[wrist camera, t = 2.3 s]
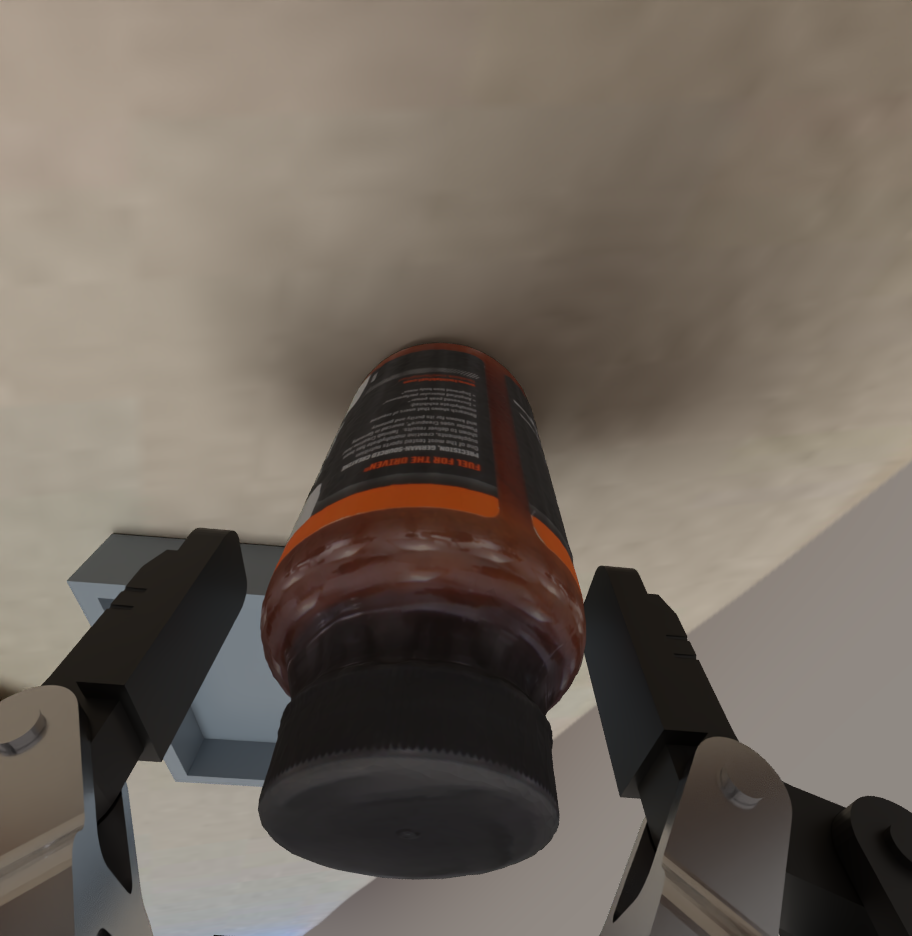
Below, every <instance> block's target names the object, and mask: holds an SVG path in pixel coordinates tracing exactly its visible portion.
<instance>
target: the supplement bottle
mask: <svg viewBox="0 0 912 936" xmlns="http://www.w3.org/2000/svg"><path fill="white" fill-rule="evenodd" d="M260 630H261V641H262V644H263V651H264V656H265V659H266V661H267V663H268V666H269V668H270V670H271V672H272V675H273V677H274V678H275V679H276V680H277V682H278V683H279V685H280V686H281V688H282V689H283V690H284V692H285V694H287V695H288V696H289V697H290V698H291V702H289V703H288V704H287V706H286V708H285V710H284V712H283V715H282V717H281V720H280V727H279V730H278V738H277V742H276V745H275V748H274V752H273V755H272V758H271V762H270V765H269V768H268V772H267V775H266V778H265V781H264V784H263V787H262V791H261V794H260V798H259V806H258V812H259V816H260V820H261V823H262V826H263V827H264V829H265V830H266V831H267V832H268V834H269V835H270V836H271V837H272V838H273V840H274V841H275V842H277V843H278V844H279V845H281V846H282V847H283V848H285V849H286V850H288V851H289V852H291V853H292V854H294V855H297V856H299V857H302V858H304V859H307V860H309V861H312V862H315V863H317V864H320V865H323V866H326V867H329V868H333V869H337V870H342V871H346V872H352V873H358V874H363V875H369V876H376V877H382V878H396V879H444V878H452V877H460V876H466V875H476V874H477V875H478V874H483V873H487V872H490V871H494V870H498V869H502V868H505V867H507V866H509V865H512V864H516V863H518V862H521V861H523V860H525V859H527V858H529V857H531V856H533V855H535V854H536V853H537V852H538V851H539V850H542V849H543V848H544V847H545V846H546V845H547V844H548V843H549V842H550V841H551V839H552V837H553V835H554V834H555V832H556V831H557V828H558V825H559V808H558V800H557V792H556V784H555V777H554V771H553V761H552V744H553V740H552V730H551V726H550V723H549V721H548V720H547V718H546V716H545V715H546V714H547V712H548V711H549V710H550V709H551V708H552V707H553V706H554V705H555V704H557V702H559V701H560V699H561V698H562V696H563V695H564V694H565V692H566V691H567V690H568V689H569V687H570V686H571V684H572V682H573V680H574V678H575V676H576V675H577V674H578V671H579V669H580V667H581V664H582V659H583V655H584V650H585V645H586V620H585V613H584V604H583V598H582V594H581V590H580V586H579V582H578V579H577V576H576V572H575V569H574V566H573V556H572V553H571V550H570V547H569V545H568V541H567V537H566V533H565V529H564V525H563V522H562V518H561V515H560V511H559V507H558V505H557V500H556V496H555V493H554V489H553V485H552V482H551V478H550V474H549V470H548V467H547V464H546V460H545V456H544V453H543V450H542V446H541V442H540V439H539V436H538V432H537V427H536V423H535V420H534V417H533V413H532V410H531V407H530V405H529V403H528V401H527V398H526V396H525V394H524V391H523V389H522V388H521V386H520V385H519V383H518V382H517V380H516V379H515V378H514V377H513V376H512V374H511V373H510V372H509V371H508V370H507V369H506V368H505V367H503V366H502V365H501V364H500V363H498V362H497V361H496V360H494V359H493V358H491V357H489V356H488V355H486V354H484V353H482V352H480V351H478V350H475V349H473V348H471V347H467V346H462V345H458V344H448V343H430V344H422V345H417V346H413V347H410V348H406V349H404V350H401V351H399V352H397V353H395V354H393V355H391V356H390V357H388V358H386V359H385V360H383V361H382V362H381V363H380V364H379V365H378V366H377V367H376V368H374V369H373V370H372V372H371V373H370V374H368V376H367V377H366V379H365V380H364V381H363V383H362V384H361V386H360V387H359V389H358V391H357V393H356V394H355V396H354V398H353V400H352V402H351V405H350V407H349V409H348V411H347V413H346V415H345V418H344V420H343V422H342V424H341V426H340V428H339V430H338V433H337V435H336V437H335V439H334V441H333V443H332V445H331V448H330V450H329V452H328V454H327V457H326V459H325V461H324V463H323V465H322V468H321V470H320V472H319V474H318V476H317V478H316V481H315V483H314V485H313V487H312V489H311V491H310V493H309V495H308V498H307V499H306V502H305V504H304V507H303V509H302V511H301V513H300V515H299V517H298V520H297V522H296V524H295V526H294V528H293V531H292V533H291V535H290V537H289V539H288V542H287V544H286V546H285V548H284V551H283V553H282V556H281V558H280V560H279V562H278V564H277V566H276V568H275V571H274V573H273V575H272V578H271V580H270V582H269V585H268V588H267V591H266V594H265V597H264V600H263V603H262V610H261V623H260Z"/></svg>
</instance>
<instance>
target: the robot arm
mask: <svg viewBox="0 0 912 936" xmlns="http://www.w3.org/2000/svg"><path fill="white" fill-rule="evenodd" d="M246 592H247V577H246V572H245V567H244V562H243V557H242V552H241V547H240V542H239V537H238V534H237V533H236V532H235V531H230V530H219V529H208V528H197V529H195V530H193V531H192V532H191V534H190V535H189V536H188V537H187V539H186V540H185V541H184V543H183V544H182V545H181V546H180V548H179V549H178V550H166V551H164V552H163V553H161V554H160V555H158V556H157V557H155V558H154V559H152V560H151V561H149V562H148V563H146V564H145V565H143V566H142V567H141V568H140V569H139V571H138V572H137V573H136V574H135V575H134V577H133V578H132V579H131V580H130V581H129V583H128V584H127V585H126V586H125V590H124V591H121V592H120V593H119V595H118V596H117V597H116V598H115V599H114V600H113V602H112V603H111V604H110V605H111V606H110V608H109V609H106V610H105V611H104V612H103V614H102V615H101V616H100V617H99V618H98V620H97V621H96V622H95V623H94V624H93V626H92V627H91V628H90V629H89V630H88V631H87V633H86V634H85V635H84V636H83V637H82V639H81V640H80V641H79V642H78V643H77V645H76V646H75V647H74V648H73V649H72V651H71V652H70V653H69V654H68V655H67V657H66V658H65V659H64V660H63V661H62V662H61V664H60V665H59V666H58V667H57V668H56V670H55V671H54V672H53V673H52V674H51V676H50V677H49V678H48V679H47V680H46V681H45V682H44V683H43V684H42V685H41V686H38V687H34V688H30V689H27V690H24V691H21V692H18V693H16V694H14V695H11V696H9V697H7V698H6V699H4V700H2V701H0V936H153V932H152V929H151V925H150V922H149V919H148V916H147V913H146V910H145V907H144V903H143V899H142V894H141V887H140V880H139V872H138V864H137V856H136V849H135V841H134V833H133V825H132V817H131V810H130V802H129V794H128V787H127V783H126V780H127V779H128V777H129V775H130V773H131V772H132V770H133V768H134V766H135V765H136V763H137V761H138V760H139V761H153V762H162V760H163V758H164V756H165V754H166V752H167V750H168V748H169V747H170V745H171V743H172V741H173V739H174V737H175V735H176V733H177V731H178V729H179V727H180V726H181V724H182V722H183V720H184V718H185V716H186V714H187V712H188V710H189V708H190V706H191V705H192V703H193V701H194V699H195V697H196V695H197V693H198V691H199V689H200V687H201V685H202V683H203V682H204V680H205V678H206V676H207V674H208V672H209V670H210V668H211V666H212V664H213V662H214V661H215V659H216V657H217V655H218V653H219V651H220V649H221V647H222V645H223V643H224V641H225V640H226V638H227V636H228V634H229V632H230V630H231V628H232V626H233V624H234V622H235V620H236V619H237V617H238V615H239V613H240V611H241V609H242V607H243V604H244V601H245V597H246ZM584 613H585V620H586V645H585V650H584V654H585V658H586V662H587V666H588V670H589V674H590V678H591V682H592V686H593V690H594V694H595V698H596V702H597V706H598V710H599V714H600V718H601V722H602V726H603V731H604V735H605V739H606V742H607V747H608V751H609V755H610V759H611V763H612V766H613V770H614V775H615V779H616V782H617V787H618V791H619V795H620V797H627V798H640V799H641V801H642V805H643V808H644V812H645V815H646V817H645V818H644V820H643V822H642V824H641V827H640V829H639V832H638V835H637V838H636V840H635V843H634V846H633V849H632V851H631V854H630V857H629V859H628V862H627V865H626V868H625V870H624V873H623V875H622V878H621V881H620V884H619V887H618V889H617V892H616V895H615V897H614V900H613V903H612V906H611V908H610V911H609V914H608V916H607V919H606V921H605V924H604V926H603V929H602V931H601V933H600V935H599V936H778V934H779V935H780V936H912V813H911V812H909V811H908V810H906V809H904V808H903V807H901V806H899V805H897V804H895V803H893V802H891V801H889V800H886V799H883V798H880V797H875V796H865V797H860V798H859V799H857V800H856V801H854V802H853V803H852V804H850V805H849V806H848V807H847V808H845V807H843V806H840V805H838V804H835V803H833V802H830V801H828V800H825V799H823V798H820V797H818V796H815V795H813V794H810V793H808V792H805V791H803V790H801V789H798V788H796V787H793V786H791V785H789V784H787V783H784V782H783V781H782V780H781V779H780V777H779V776H778V774H777V773H776V772H775V770H774V769H773V768H772V767H771V766H770V764H769V763H767V761H766V760H765V759H763V758H762V757H761V756H760V755H759V754H758V753H756V752H755V751H754V750H752V749H751V748H749V747H748V746H746V745H744V744H742V743H740V742H739V741H738V739H737V737H736V736H735V734H734V732H733V730H732V728H731V726H730V724H729V722H728V720H727V718H726V716H725V714H724V711H723V709H722V707H721V705H720V703H719V701H718V699H717V697H716V695H715V693H714V691H713V689H712V687H711V685H710V683H709V681H708V678H707V677H706V674H705V672H704V670H703V668H702V666H701V664H700V662H699V660H696V654H695V651H694V649H693V647H692V645H691V643H690V642H689V641H687V635H686V633H685V631H684V629H683V627H682V625H681V623H680V620H679V618H678V616H677V614H676V613H675V612H674V611H673V610H672V609H671V608H670V607H669V606H668V605H667V604H666V603H665V601H664V600H663V599H662V598H661V597H660V596H659V595H656V594H647V591H646V589H645V587H644V585H643V582H642V580H641V578H640V575H639V574H638V572H637V571H636V570H635V569H633V568H622V567H611V566H599V567H598V568H597V570H596V572H595V575H594V577H593V580H592V583H591V586H590V588H589V591H588V594H587V596H586V599H585V602H584ZM214 936H222V935H214Z"/></svg>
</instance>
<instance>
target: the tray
mask: <svg viewBox="0 0 912 936" xmlns="http://www.w3.org/2000/svg"><path fill="white" fill-rule="evenodd" d="M185 540H186V539H173V538H160V537H147V536H134V535H121V534H111V536H110V537H109V538H108V539H107V540H106V541H105V542H104V543H103V544H102V545H101V546H100V547H99V548H98V549H97V550H96V551H95V552H94V553H93V554H92V555H91V556H90V557H89V558H88V559H87V560H86V561H85V562H84V563H83V565H82V566H81V567H80V568H79V569H78V570H77V571H76V572H75V573H74V574H73V575H72V576H71V577H70V578H69V579H68V580H67V583H68V584H69V586H70V588H71V590H72V592H73V594H74V596H75V597H76V599H77V601H78V603H79V605H80V607H81V608H82V610H83V612H84V614H85V616H86V618H87V619H88V621H89V623H90V625H91V627H92V626H93V624H94V623H95V622H96V621H97V620H98V618H99V617H100V616H101V615H102V614H103V612H104V611H105V610H106V609H109V608H110V606H111V605H110V604H111V603H112V602H113V600H114V599H115V598H116V597H117V596H118V595H119V593H120V592H121V591H124V590H125V586H126V585H127V584H128V583H129V581H130V580H131V579H132V578H133V577H134V575H135V574H136V573H137V572H138V571H139V569H140V568H141V567H142V566H143V565H145V564H146V563H148V562H149V561H151V560H152V559H154V558H155V557H157V556H158V555H160V554H161V553H163V552H164V551H166V550H178V549H179V548H180V546H181V545H182V544H183V543H184V541H185ZM240 547H241V552H242V557H243V562H244V567H245V572H246V577H247V592H246V597H245V601H244V604H243V607H242V609H241V611H240V613H239V615H238V617H237V619H236V620H235V622H234V624H233V626H232V628H231V630H230V632H229V634H228V636H227V638H226V640H225V641H224V643H223V645H222V647H221V649H220V651H219V653H218V655H217V657H216V659H215V661H214V662H213V664H212V666H211V668H210V670H209V672H208V674H207V676H206V678H205V680H204V682H203V683H202V685H201V687H200V689H199V691H198V693H197V695H196V697H195V699H194V701H193V703H192V705H191V706H190V708H189V710H188V712H187V714H186V716H185V718H184V720H183V722H182V724H181V726H180V727H179V729H178V731H177V733H176V735H175V737H174V739H173V741H172V743H171V745H170V747H169V748H168V750H167V752H166V754H165V756H164V758H163V759H164V761H165V763H166V765H167V767H168V769H169V770H170V772H171V774H172V776H173V778H174V780H175V781H176V782H191V783H208V784H225V785H242V786H259V787H263V784H264V781H265V778H266V775H267V772H268V768H269V765H270V762H271V758H272V755H273V752H274V748H275V745H276V742H277V738H278V730H279V727H280V720H281V717H282V715H283V712H284V710H285V708H286V706H287V704H288V703H289V702H291V698H290V697H289V696H288V695H287V694H285V692H284V690H283V689H282V688H281V686H280V685H279V683H278V682H277V680H276V679H275V678H274V677H273V675H272V672H271V670H270V668H269V666H268V663H267V661H266V659H265V656H264V651H263V644H262V641H261V630H260V623H261V610H262V603H263V600H264V597H265V594H266V591H267V588H268V585H269V582H270V580H271V578H272V575H273V573H274V571H275V568H276V566H277V564H278V562H279V560H280V558H281V556H282V553H283V551H284V548H285V547H277V546H264V545H251V544H240Z"/></svg>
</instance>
